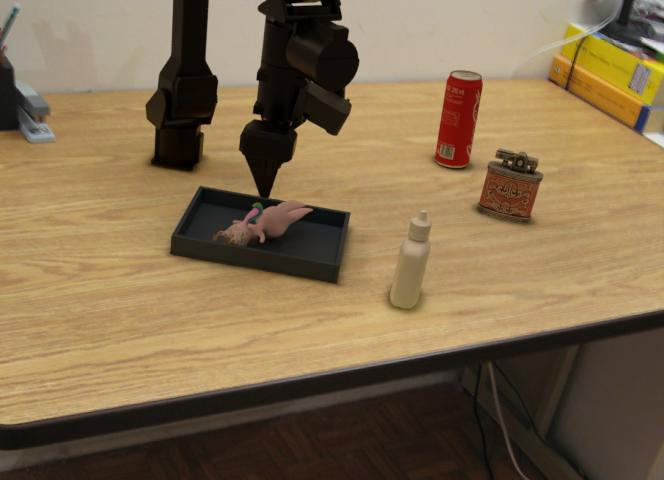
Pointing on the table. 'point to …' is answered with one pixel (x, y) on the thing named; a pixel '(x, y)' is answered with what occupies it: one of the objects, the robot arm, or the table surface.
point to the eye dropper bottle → (411, 263)
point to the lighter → (510, 187)
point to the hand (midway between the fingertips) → (270, 182)
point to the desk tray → (275, 253)
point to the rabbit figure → (264, 223)
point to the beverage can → (458, 118)
